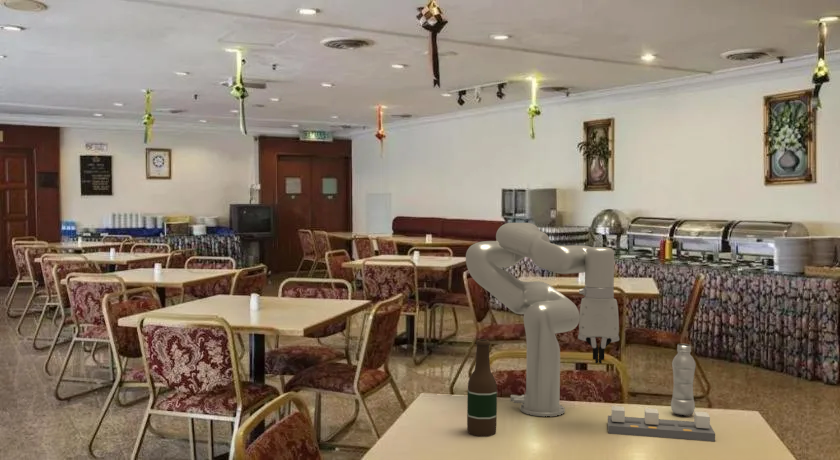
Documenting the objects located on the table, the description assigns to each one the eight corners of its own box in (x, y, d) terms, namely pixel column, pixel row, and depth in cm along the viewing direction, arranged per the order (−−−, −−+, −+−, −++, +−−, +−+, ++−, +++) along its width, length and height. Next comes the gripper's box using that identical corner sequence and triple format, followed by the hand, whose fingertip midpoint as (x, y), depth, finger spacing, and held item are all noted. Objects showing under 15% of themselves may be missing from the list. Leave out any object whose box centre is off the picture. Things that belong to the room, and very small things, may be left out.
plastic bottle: (691, 412, 214) (692, 343, 213) (697, 418, 207) (699, 347, 207) (668, 411, 214) (669, 342, 214) (673, 417, 208) (675, 346, 207)
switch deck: (608, 433, 192) (608, 425, 192) (607, 422, 202) (607, 415, 202) (715, 441, 186) (715, 433, 186) (708, 430, 196) (709, 422, 196)
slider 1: (611, 421, 195) (612, 410, 195) (611, 416, 199) (611, 405, 199) (624, 422, 194) (624, 410, 194) (623, 417, 198) (623, 406, 198)
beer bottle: (499, 430, 194) (501, 338, 193) (492, 438, 187) (494, 343, 186) (470, 426, 196) (472, 336, 196) (462, 434, 189) (464, 341, 189)
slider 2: (645, 423, 193) (645, 412, 193) (644, 419, 197) (644, 408, 197) (658, 424, 192) (658, 413, 192) (657, 420, 196) (657, 408, 196)
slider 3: (696, 427, 190) (696, 416, 190) (694, 422, 194) (694, 411, 194) (709, 428, 189) (709, 416, 189) (707, 423, 193) (707, 412, 193)
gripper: (570, 294, 195) (569, 363, 195) (629, 295, 191) (628, 366, 192) (570, 291, 202) (570, 358, 202) (627, 293, 199) (626, 361, 199)
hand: (598, 362), depth 197 cm, fingers closed
